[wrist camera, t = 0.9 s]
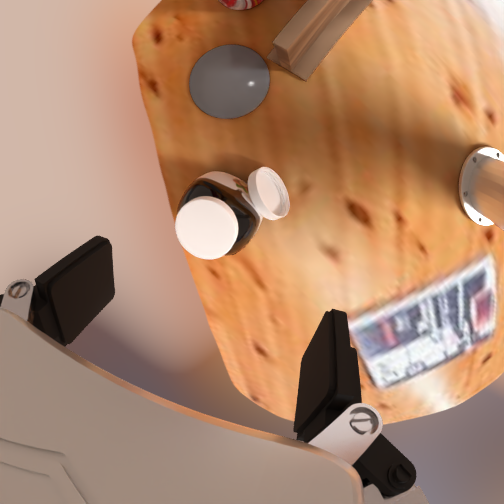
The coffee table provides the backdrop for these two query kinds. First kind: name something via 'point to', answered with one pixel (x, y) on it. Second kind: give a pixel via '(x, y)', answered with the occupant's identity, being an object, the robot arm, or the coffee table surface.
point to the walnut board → (314, 34)
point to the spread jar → (228, 211)
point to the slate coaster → (229, 81)
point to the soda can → (240, 4)
